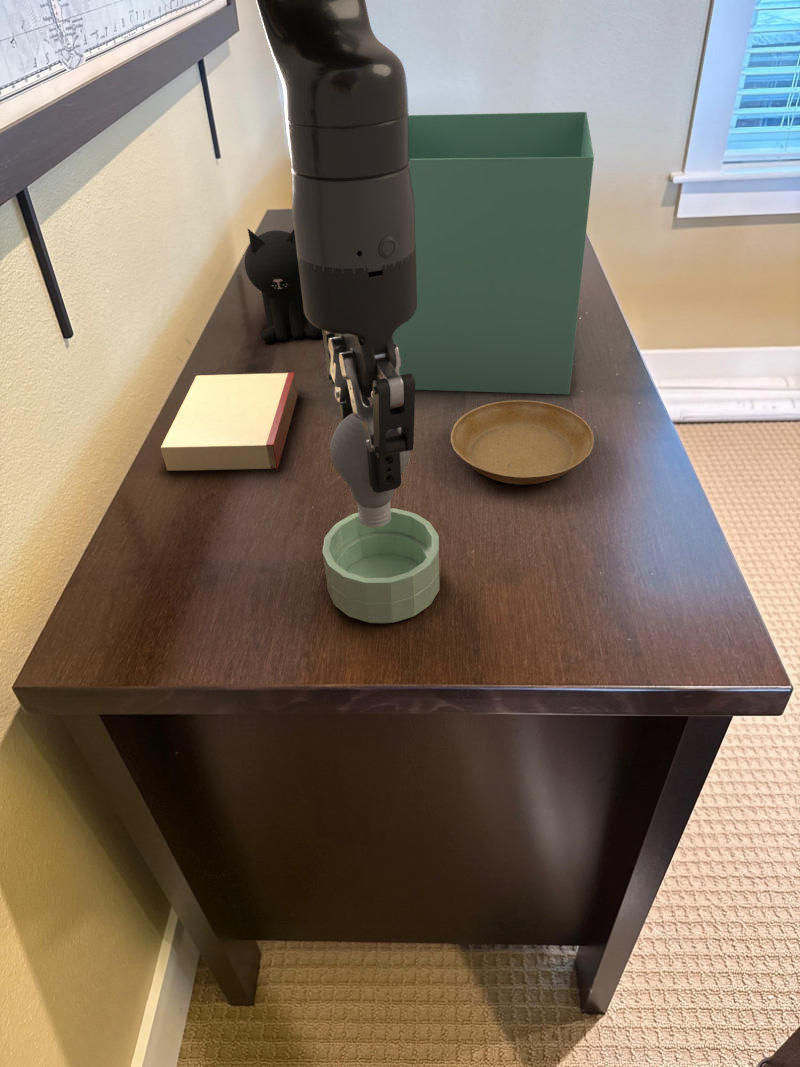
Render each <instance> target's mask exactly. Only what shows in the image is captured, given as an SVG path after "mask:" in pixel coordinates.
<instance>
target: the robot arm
mask: <svg viewBox="0 0 800 1067" xmlns="http://www.w3.org/2000/svg"><path fill="white" fill-rule="evenodd" d="M255 1H256V5H257V8H258V12H259V16H260V19H261V22H262V26H263V29H264V34H265V37H266V40H267V43H268V46H269V49H270V52H271V55H272V58H273V60H274V63H275V66H276V69H277V72H278V75H279V79H280V81H281V85H282V91H283V99H284V100H283V101H284V117H285V126H286V135H287V143H288V152H289V161H290V168H291V211H292V212H291V213H292V214H291V215H292V223H293V229H294V232H295V241H296V249H297V258H298V266H299V275H300V283H301V292H302V300H303V309H304V314H305V316H306V318H307V319H308V321H309V322H310V323H311V324H313V325H314V326H315V327H317V328H319V329H321V330H322V333H321V335H322V340H323V348H324V354H325V356H324V357H325V361H326V369H327V370H326V371H327V374H326V377H327V380H328V381H329V383H330V385H334V397H335V399H336V401H337V403H339V409H340V419H341V421H340V422H342V421H343V420H344V419H345V418H346V417H347V416H348V415H350V414H352V413H354V416H355V417H357V418H359V419H361V420H362V423H363V428H364V433H365V438H366V447H367V454H368V468H369V481H370V486H371V488H372V489H373V491H374V492H376V493H380V492H384V491H389V490H393V489H394V490H396V489H398V488H400V486H401V484H402V474H401V465H400V452H404V451H410V452H411V451H413V450H414V444H415V438H414V437H415V413H416V412H415V411H416V410H415V408H416V390H415V385H416V384H415V379H414V378H413V375H412V374H411V373H408V374H403V375H400V374H399V368H400V366H401V359H400V354H399V349H398V346H397V344H396V343H394V341H393V339H392V335H393V333H394V332H395V330H396V329H397V328H398V327H399V326H401V325H402V324H403V323H406V322H407V321H408V320H409V319H410V318H411V317H412V316H413V315H414V313H415V311H416V308H417V278H416V233H415V202H414V193H413V187H412V181H411V173H410V163H409V161H410V155H409V115H410V114H409V92H408V81H407V75H406V70H405V67H404V65H403V63H402V60H401V59H400V58H399V57H398V55H397V54H396V53H395V52H394V51H393V50H391V49H389V48H388V47H387V46H386V45H385V44H383V43H382V42H381V41H380V40H379V39H378V38H377V37H376V35H375V34H374V31H373V29H372V27H371V23H370V17H369V12H368V8H367V7H368V6H367V2H366V0H255ZM370 398H371V399H372V404H371V401H370ZM390 429H391V430H390Z"/></svg>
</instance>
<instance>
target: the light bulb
mask: <svg viewBox="0 0 800 1067" xmlns="http://www.w3.org/2000/svg"><path fill="white" fill-rule="evenodd" d="M390 430H391V429H390ZM331 436H332V437H331V440H330V444H329V452H330V457H331V461H332V464H333V466H334V468H335V471H336V472H337V473H338V475H339V476H340V477H341V478H342V479H343V480H344V481H345V482H346V484H347V485H348V486H349V487H350V489H351V493H352V497H353V498H354V500H355V501H356V506H357V513H358V514H359V515H358V517H359V521H360V523H361V524H363V525H364V526H367V527H372V528H376V527H382V526H384V525H386V524H388V523H389V522H390V520H391V508H392V507H391V504H392V503H391V500H392V499H393V496H394V495H395V494H394V493H395V489H393V490H389V491H384V492H380V493H376V492H374V491H373V489H372V488H371V486H370V481H369V468H368V454H367V447H366V438H365V433H364V428H363V423H362V420H361V419H359V418H357V417H355V416H354V413H352V414H350V415H348V416H347V417H346V418H345V419H344V420H343V421H340V422H339V424H338V425H337V427H336V428H335V429H334V432H333V434H332V435H331ZM410 453H411V450H410V451H404V452H400V465H401V475H402V474H403V472H404V471H405V470H406V467H407V465H408V463H409V458H410Z"/></svg>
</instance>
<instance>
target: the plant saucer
mask: <svg viewBox="0 0 800 1067" xmlns="http://www.w3.org/2000/svg"><path fill="white" fill-rule="evenodd" d="M452 426H453V427H452V428H451V430H450V443H451V447H452V448H453V450H454V451H455V453H456V454H457V455H458V457H459V458H460V459H461V460H462V461H463V462H464V463H465V464H466V465H468V467H470V468H471V469H473V470H474V471H475V472H478V473H479V474H480V475H483V476H484V477H486V478H487V479H488V478H489V479H491V480H493V481H497V482H500V483H503V484H509V485H520V486H521V485H523V486H526V485H527V486H528V485H536V484H542V483H546V482H549V481H552V480H555V479H557V478H560V477H562V476H563V475H565V474H566V473H569V472H570V471H572V470H573V469H575V468H576V467H578V466H580V464H581V463H583V462H584V461H585V460H586V459H587V458H588V457H589V455H590V454H591V453H592V451H593V448H594V445H595V435H594V433H593V430H592V428H591V427H590V425H589V424H588V423H587V421H585V420H584V418H582V417H581V416H579V415H578V414H576V413H575V412H573V411H571V410H569V409H567V408H564V407H562V406H559V405H556V404H552V403H549V402H544V401H538V400H526V399H521V400H520V399H515V400H513V399H512V400H511V399H510V400H503V401H496V402H491V403H487V404H484V405H480V406H478V407H475V408H474V409H472V410H469V411H468V412H466V413H465V414H463V415H462V416H461V417H459V418H458V419H457V421H456V422H455V423H454V425H452Z"/></svg>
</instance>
